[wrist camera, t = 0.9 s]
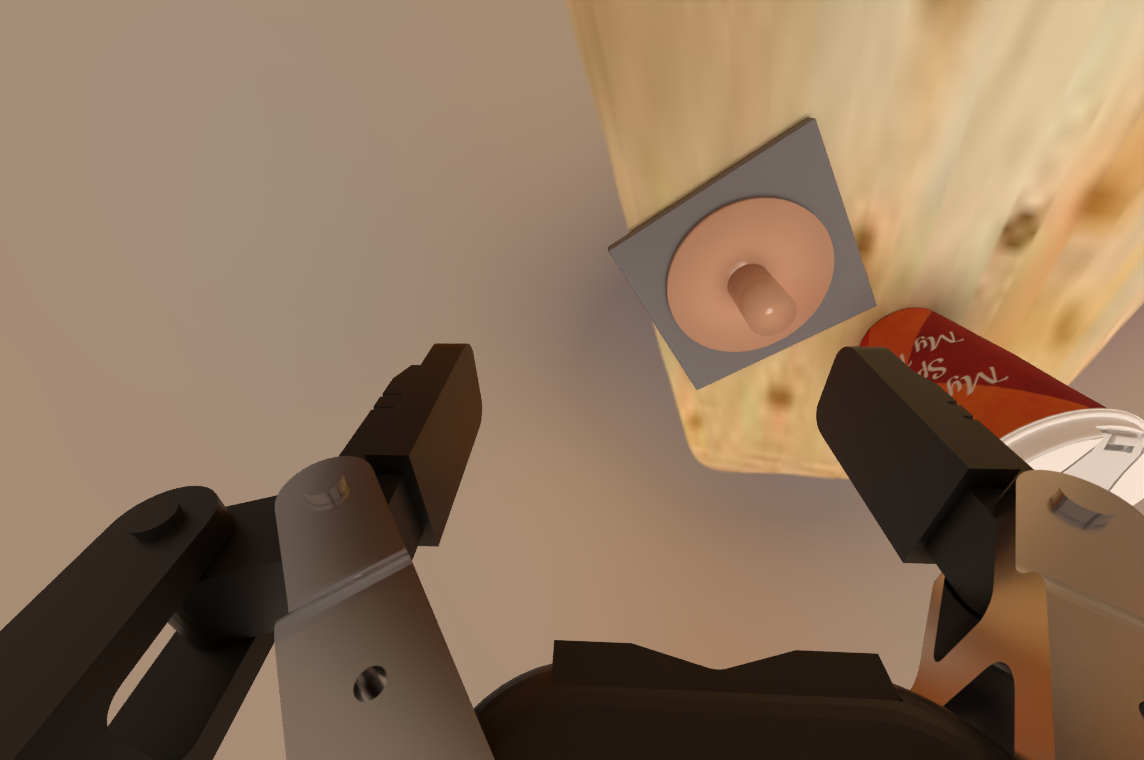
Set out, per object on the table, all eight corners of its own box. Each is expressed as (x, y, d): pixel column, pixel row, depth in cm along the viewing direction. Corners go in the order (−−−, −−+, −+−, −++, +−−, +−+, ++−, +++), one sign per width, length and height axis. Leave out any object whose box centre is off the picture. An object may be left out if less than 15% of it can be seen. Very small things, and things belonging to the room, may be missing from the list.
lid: (797, 158, 26) (841, 175, 21) (849, 300, 31) (894, 339, 26) (638, 257, 30) (645, 290, 25) (705, 369, 35) (722, 414, 30)
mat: (808, 117, 26) (815, 118, 25) (869, 299, 32) (876, 305, 31) (608, 247, 31) (608, 251, 30) (694, 383, 37) (696, 390, 36)
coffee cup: (874, 286, 31) (1053, 418, 19) (985, 299, 32) (1234, 439, 19) (824, 380, 36) (941, 535, 24) (921, 391, 36) (1087, 551, 24)
